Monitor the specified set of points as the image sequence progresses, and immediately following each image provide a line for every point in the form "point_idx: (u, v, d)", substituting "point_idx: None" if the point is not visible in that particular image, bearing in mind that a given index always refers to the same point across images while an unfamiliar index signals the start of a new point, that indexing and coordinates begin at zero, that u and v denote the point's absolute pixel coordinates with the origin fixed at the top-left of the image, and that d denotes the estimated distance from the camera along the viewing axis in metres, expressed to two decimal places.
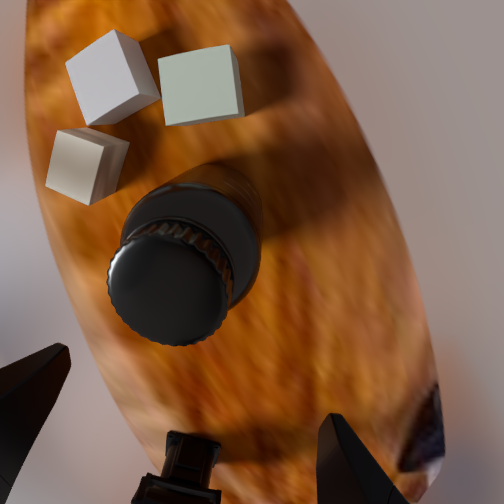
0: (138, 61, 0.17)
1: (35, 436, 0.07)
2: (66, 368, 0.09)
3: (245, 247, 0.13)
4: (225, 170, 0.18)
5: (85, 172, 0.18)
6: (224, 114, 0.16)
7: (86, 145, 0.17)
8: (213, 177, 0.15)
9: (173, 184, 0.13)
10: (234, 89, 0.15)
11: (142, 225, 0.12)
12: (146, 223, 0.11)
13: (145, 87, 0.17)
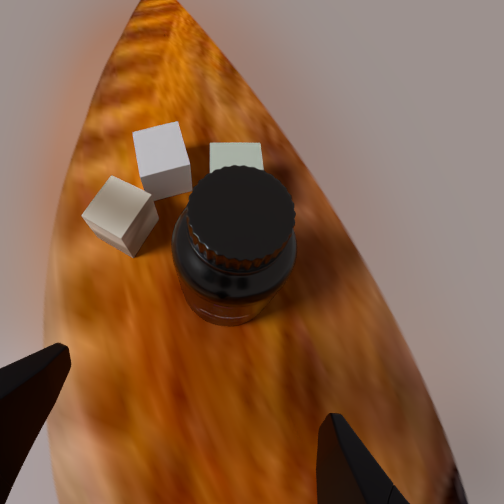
0: None
1: (36, 436, 0.07)
2: (66, 368, 0.09)
3: None
4: None
5: (127, 211, 0.22)
6: None
7: (135, 190, 0.22)
8: None
9: None
10: (262, 169, 0.24)
11: None
12: None
13: None
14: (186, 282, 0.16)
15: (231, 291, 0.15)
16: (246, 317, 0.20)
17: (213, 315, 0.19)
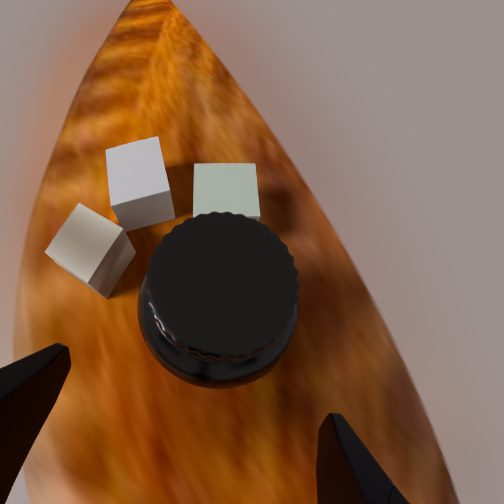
0: None
1: (35, 436, 0.07)
2: (66, 368, 0.09)
3: None
4: None
5: (95, 248, 0.17)
6: (248, 215, 0.19)
7: (105, 223, 0.18)
8: None
9: None
10: (257, 197, 0.20)
11: None
12: None
13: None
14: (156, 359, 0.12)
15: (212, 376, 0.11)
16: None
17: None
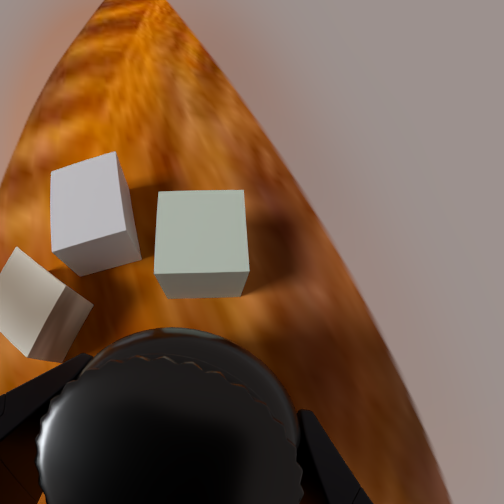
0: (128, 203, 0.17)
1: None
2: None
3: (288, 429, 0.07)
4: None
5: (33, 312, 0.12)
6: (231, 271, 0.13)
7: (45, 277, 0.12)
8: None
9: (171, 327, 0.08)
10: (246, 242, 0.14)
11: (123, 361, 0.06)
12: None
13: (131, 233, 0.16)
14: None
15: None
16: None
17: None
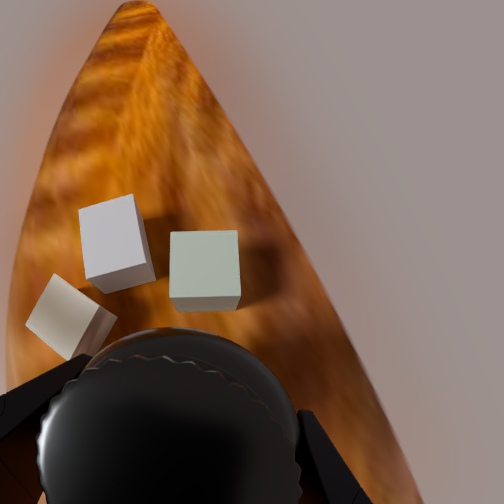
0: (144, 235, 0.21)
1: None
2: None
3: (287, 428, 0.07)
4: None
5: (73, 326, 0.16)
6: (227, 295, 0.18)
7: (81, 298, 0.17)
8: None
9: (171, 327, 0.08)
10: (238, 272, 0.18)
11: (122, 360, 0.06)
12: None
13: (148, 262, 0.20)
14: None
15: None
16: None
17: None
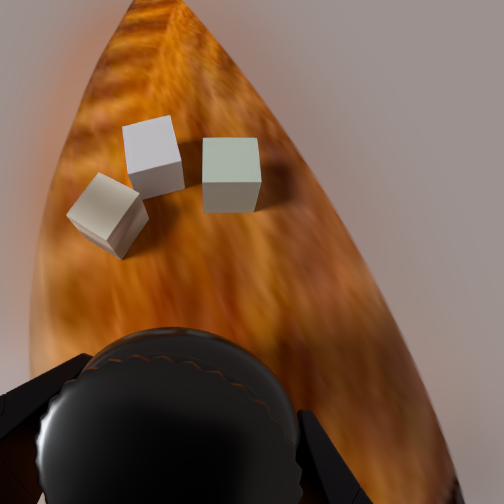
0: None
1: None
2: None
3: (288, 428, 0.07)
4: None
5: (113, 210, 0.20)
6: (250, 181, 0.21)
7: (123, 189, 0.21)
8: None
9: (171, 327, 0.08)
10: (259, 166, 0.22)
11: (122, 360, 0.06)
12: None
13: None
14: None
15: None
16: None
17: None
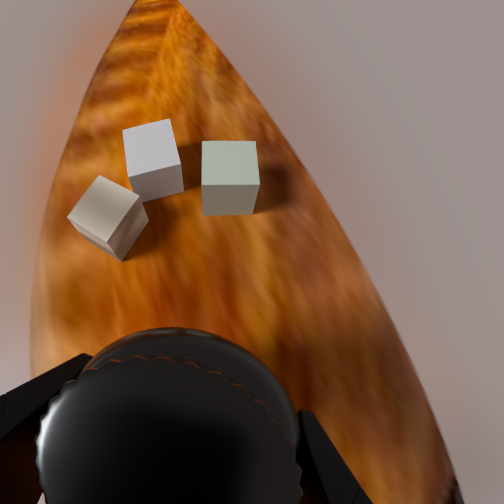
0: None
1: None
2: None
3: (288, 429, 0.07)
4: None
5: (114, 213, 0.20)
6: (249, 184, 0.22)
7: (123, 191, 0.21)
8: None
9: (171, 327, 0.08)
10: (257, 169, 0.22)
11: (122, 360, 0.06)
12: None
13: None
14: None
15: None
16: None
17: None
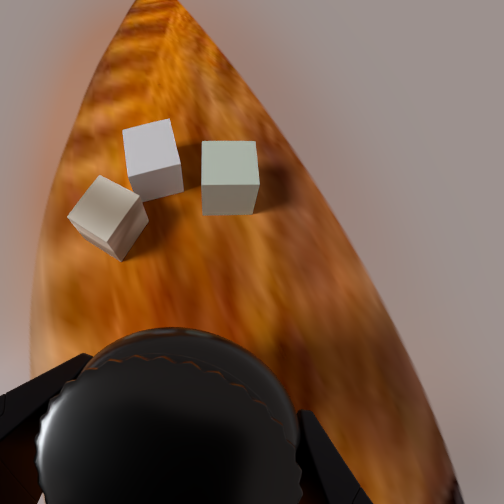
0: None
1: None
2: None
3: (288, 429, 0.07)
4: None
5: (114, 212, 0.20)
6: (249, 184, 0.22)
7: (123, 191, 0.21)
8: None
9: (171, 327, 0.08)
10: (257, 169, 0.22)
11: (122, 360, 0.06)
12: None
13: None
14: None
15: None
16: None
17: None
